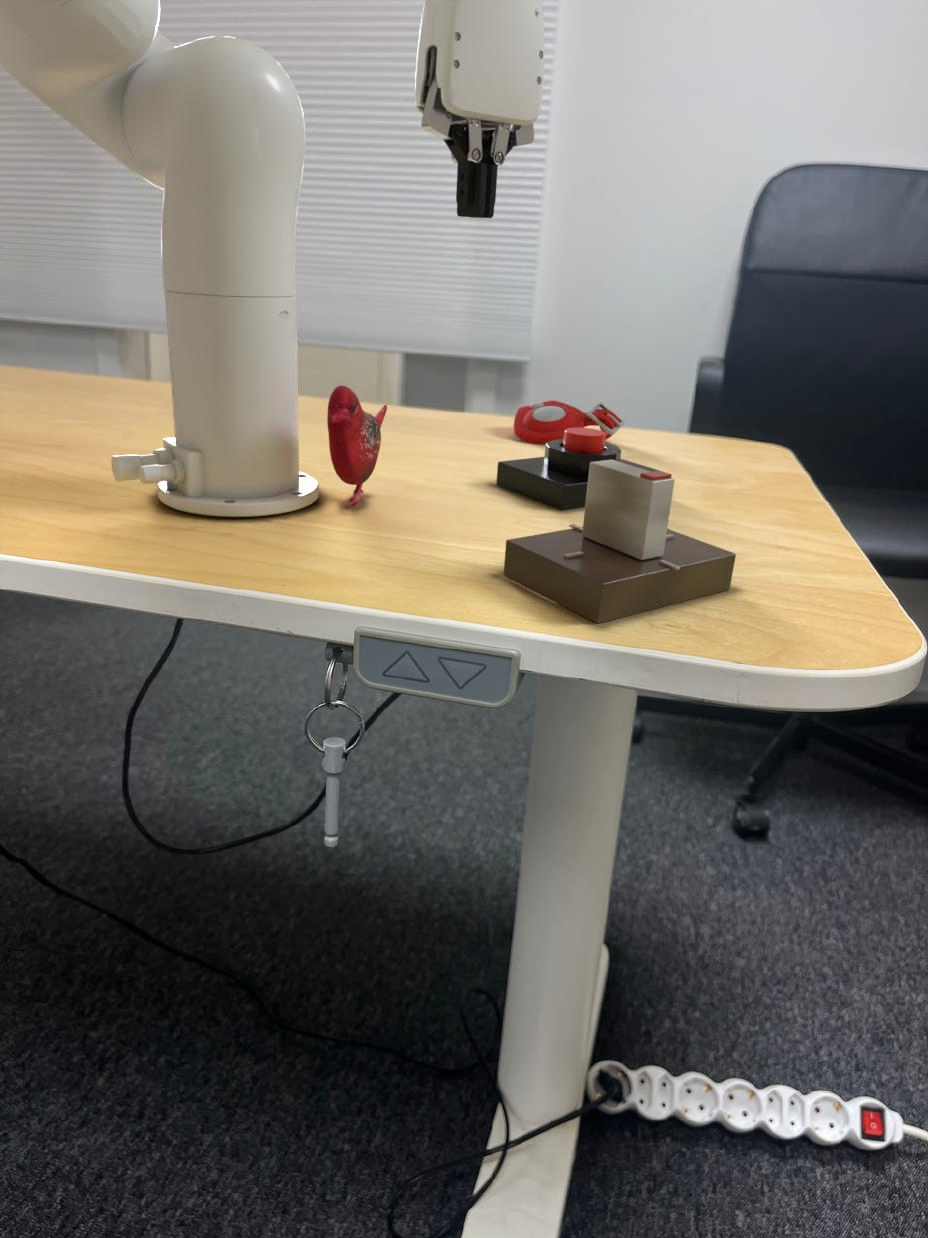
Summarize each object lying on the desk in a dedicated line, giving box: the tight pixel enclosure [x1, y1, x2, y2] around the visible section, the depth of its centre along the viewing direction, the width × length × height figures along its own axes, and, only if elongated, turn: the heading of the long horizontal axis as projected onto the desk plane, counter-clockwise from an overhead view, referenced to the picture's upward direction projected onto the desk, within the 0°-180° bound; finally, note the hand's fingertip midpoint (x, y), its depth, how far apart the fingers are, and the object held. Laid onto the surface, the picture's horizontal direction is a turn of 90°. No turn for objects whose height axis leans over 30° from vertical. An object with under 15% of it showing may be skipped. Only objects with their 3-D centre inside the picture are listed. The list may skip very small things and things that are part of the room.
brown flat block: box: [503, 523, 737, 624], centre depth 58 cm, size 12×10×3 cm
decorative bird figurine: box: [326, 385, 388, 509], centre depth 72 cm, size 3×18×10 cm, turn 172°
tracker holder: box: [512, 399, 626, 445], centre depth 102 cm, size 12×4×10 cm
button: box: [563, 427, 606, 452], centre depth 79 cm, size 4×4×2 cm
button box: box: [495, 439, 664, 512], centre depth 79 cm, size 12×9×4 cm
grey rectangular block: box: [582, 460, 675, 560], centre depth 57 cm, size 6×2×5 cm, turn 36°
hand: (474, 216), depth 76 cm, fingers closed
